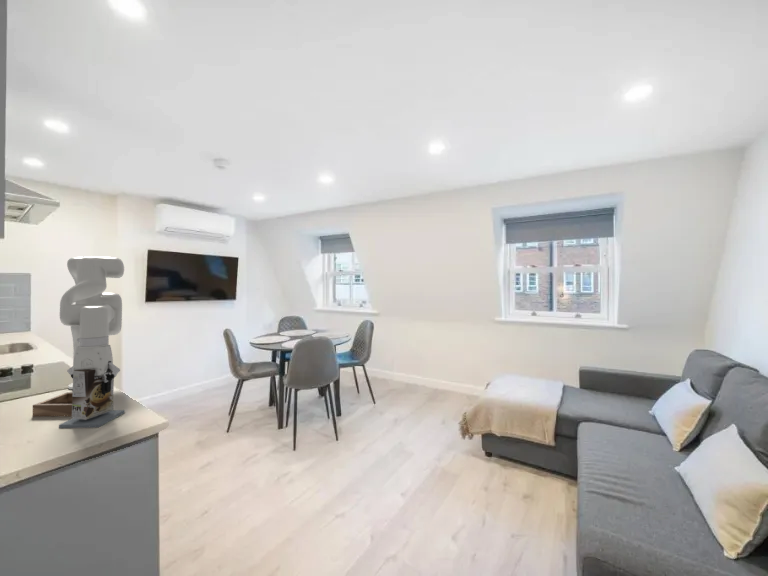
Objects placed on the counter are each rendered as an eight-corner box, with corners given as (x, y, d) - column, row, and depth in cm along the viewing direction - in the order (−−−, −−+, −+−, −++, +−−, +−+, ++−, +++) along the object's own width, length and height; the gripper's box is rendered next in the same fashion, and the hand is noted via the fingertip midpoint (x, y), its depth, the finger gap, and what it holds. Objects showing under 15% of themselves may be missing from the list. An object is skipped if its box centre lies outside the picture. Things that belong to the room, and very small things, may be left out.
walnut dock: (67, 402, 127) (67, 392, 127) (103, 402, 128) (103, 392, 128) (32, 416, 114) (32, 405, 114) (73, 416, 115) (73, 405, 115)
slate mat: (89, 413, 118) (89, 410, 118) (124, 412, 119) (124, 410, 119) (58, 427, 106) (58, 424, 106) (98, 427, 107) (98, 424, 107)
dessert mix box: (86, 420, 107) (87, 371, 107) (70, 418, 108) (71, 369, 108) (114, 409, 116) (115, 364, 116) (99, 408, 117) (100, 363, 117)
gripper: (57, 343, 108) (56, 396, 108) (112, 344, 109) (112, 396, 109) (76, 339, 115) (76, 389, 115) (128, 340, 116) (128, 389, 117)
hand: (93, 392), depth 112 cm, fingers closed on dessert mix box, 7 cm apart
